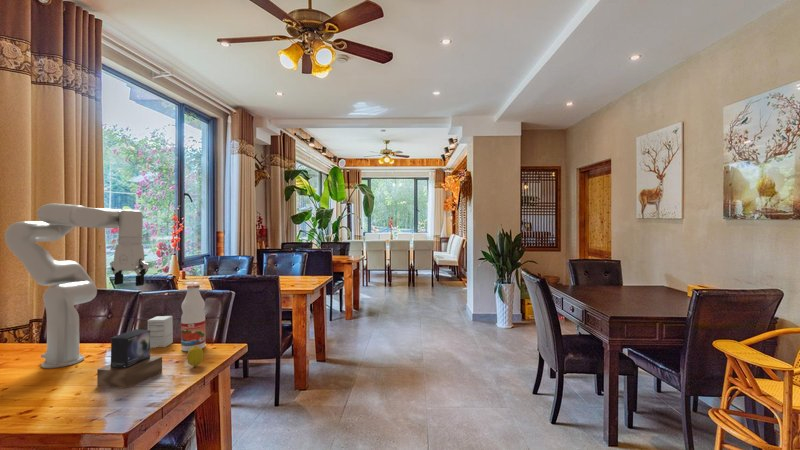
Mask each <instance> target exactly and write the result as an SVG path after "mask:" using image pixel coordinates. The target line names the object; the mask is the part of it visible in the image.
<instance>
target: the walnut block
mask: <svg viewBox="0 0 800 450" xmlns="http://www.w3.org/2000/svg"><path fill="white" fill-rule="evenodd" d="M96 370H97V373H96V374H97V384H96V386H97V387H104V388H105V387H106V388H116V389H126V390H127V389H129V388H132V387H134V386H136V385H139V384H140V383H143V382H144V381H147V380H149V379H151V378H153V377H155V376H157V375H159V373H160V374H162V373H163V357H162V356H153V355H152V356H151V355H150V358H149V359H146V360H144V361H142V362H140V363H137V364H135V365H133V366H130V367H128V368H111V363H110V364H107V365H105V366H103V367H100V368H97V369H96ZM161 372H162V373H161Z"/></svg>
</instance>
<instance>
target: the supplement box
mask: <svg viewBox="0 0 800 450" xmlns="http://www.w3.org/2000/svg"><path fill="white" fill-rule="evenodd" d="M173 323H174V322H173V315H164V316H163V315H162V316H161V315H159V316H154V317H153V318H150V319H147V330H150V349H157V348H156V347H165V348H166V347H167V346H169V345H171V344H172V343H174V341H173V340H174V339H173V338H174V336H173V335H174V330H173V329H174V328H173V326H174V325H173Z"/></svg>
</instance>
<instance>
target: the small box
mask: <svg viewBox="0 0 800 450" xmlns="http://www.w3.org/2000/svg"><path fill="white" fill-rule="evenodd" d="M110 340H111V341H110V345H111V346H110V364H111V368H128V367H130V366H133V365H135V364H137V363H140V362H142V361H144V360H146V359H149V358H150V356H151V348H150V330H148V329H132V330H129V331H126V332H124V333H121V334H118V335H115V336H111V337H110Z"/></svg>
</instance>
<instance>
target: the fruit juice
mask: <svg viewBox="0 0 800 450" xmlns="http://www.w3.org/2000/svg"><path fill="white" fill-rule="evenodd" d="M200 288H201V287H200V284H194V283H193V284H188V285H187V286H186V289H187V291H186V294H185V297H184V299H183V301H182V302H181V311H182V314H181V318H180V331H181V332H180V338H181V339H180V346H181V347H180V348H181V351H183V352H188V351H189V350H190V349H191V348H193V347H194V346H197V347H200V348H201V349H202V350H203V349H204V348H205V347H206V312H205V311H204V310H205V307H206V302H205V300H204V299H203V296H202V295H201V292H200Z"/></svg>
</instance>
